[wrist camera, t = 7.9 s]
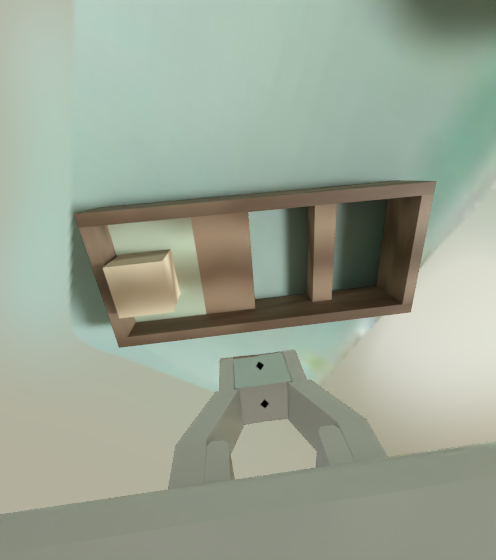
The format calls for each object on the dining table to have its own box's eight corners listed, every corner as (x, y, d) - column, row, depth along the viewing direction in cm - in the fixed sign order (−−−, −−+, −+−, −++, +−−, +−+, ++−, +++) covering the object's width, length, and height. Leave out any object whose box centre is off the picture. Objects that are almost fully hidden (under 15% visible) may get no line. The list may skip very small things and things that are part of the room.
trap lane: (101, 207, 23) (74, 214, 18) (399, 180, 24) (436, 181, 20) (134, 321, 27) (119, 347, 23) (383, 292, 29) (410, 312, 25)
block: (119, 254, 22) (102, 267, 19) (170, 249, 23) (162, 261, 19) (133, 299, 24) (119, 318, 21) (180, 294, 24) (173, 311, 21)
